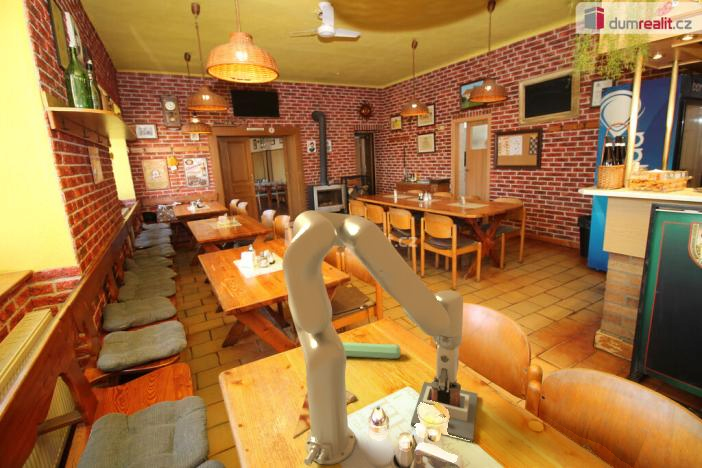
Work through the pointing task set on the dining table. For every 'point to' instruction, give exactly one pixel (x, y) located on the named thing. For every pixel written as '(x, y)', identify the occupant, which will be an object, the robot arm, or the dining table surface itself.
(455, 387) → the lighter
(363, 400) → the dining table surface
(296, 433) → the pizza slice
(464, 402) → the holder
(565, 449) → the dining table surface
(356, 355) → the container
